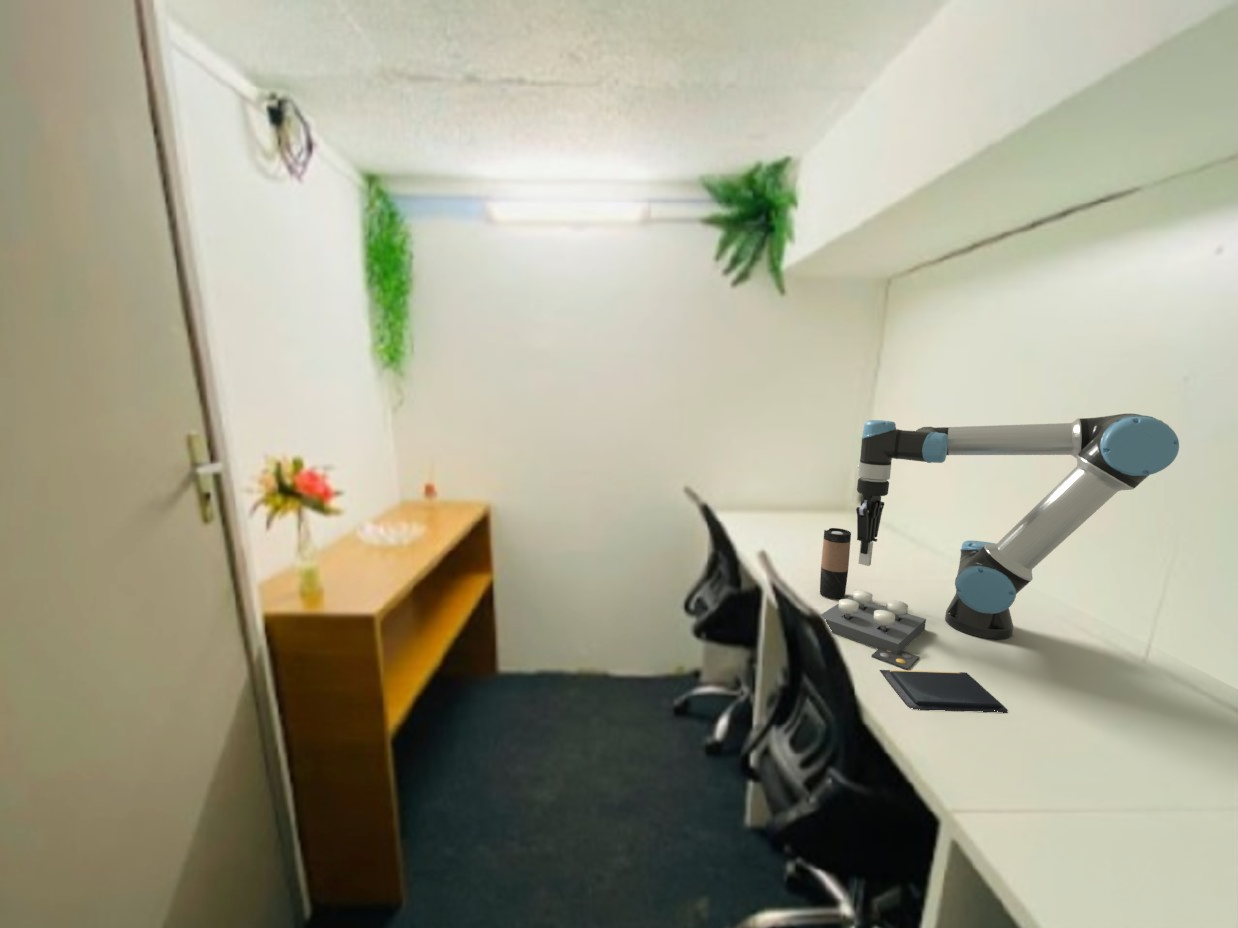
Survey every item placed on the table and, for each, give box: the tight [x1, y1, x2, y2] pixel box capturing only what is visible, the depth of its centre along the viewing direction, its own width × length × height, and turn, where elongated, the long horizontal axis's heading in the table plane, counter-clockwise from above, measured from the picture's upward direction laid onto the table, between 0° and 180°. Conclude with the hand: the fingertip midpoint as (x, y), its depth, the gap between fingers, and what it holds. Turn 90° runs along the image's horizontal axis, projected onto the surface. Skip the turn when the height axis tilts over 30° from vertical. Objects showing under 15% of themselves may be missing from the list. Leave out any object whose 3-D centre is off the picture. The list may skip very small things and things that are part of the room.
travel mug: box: [819, 527, 852, 601], centre depth 163 cm, size 8×8×20 cm
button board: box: [820, 595, 927, 654], centre depth 143 cm, size 20×20×3 cm
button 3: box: [852, 589, 873, 610], centre depth 148 cm, size 5×5×5 cm
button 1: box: [886, 599, 909, 621], centre depth 142 cm, size 5×5×5 cm
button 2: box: [873, 610, 895, 632], centre depth 136 cm, size 5×5×5 cm
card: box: [871, 648, 920, 670], centre depth 128 cm, size 8×8×1 cm
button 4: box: [838, 598, 859, 620], centre depth 142 cm, size 5×5×5 cm
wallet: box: [879, 669, 1008, 714], centre depth 115 cm, size 20×2×15 cm
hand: (864, 564), depth 147 cm, fingers closed
